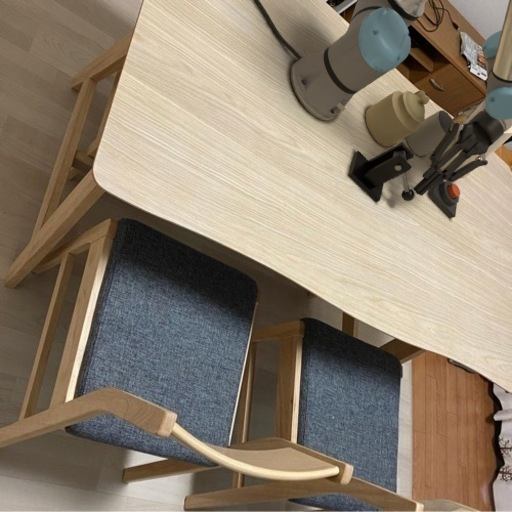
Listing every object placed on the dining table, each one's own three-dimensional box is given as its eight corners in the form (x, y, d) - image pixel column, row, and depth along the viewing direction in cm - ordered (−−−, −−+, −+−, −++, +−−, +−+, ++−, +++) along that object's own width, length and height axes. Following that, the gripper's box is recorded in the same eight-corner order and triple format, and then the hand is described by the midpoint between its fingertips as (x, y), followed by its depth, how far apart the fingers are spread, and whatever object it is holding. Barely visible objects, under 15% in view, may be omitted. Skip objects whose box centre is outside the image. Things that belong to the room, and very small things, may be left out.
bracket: (381, 179, 138) (422, 158, 130) (376, 202, 134) (418, 182, 125) (354, 152, 134) (395, 129, 126) (348, 175, 130) (389, 152, 121)
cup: (425, 161, 155) (457, 145, 148) (405, 145, 151) (438, 128, 144) (425, 138, 160) (456, 121, 152) (406, 122, 156) (438, 104, 148)
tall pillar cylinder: (429, 164, 159) (473, 115, 136) (447, 137, 163) (493, 86, 139) (461, 186, 158) (511, 141, 135) (479, 159, 162) (530, 111, 138)
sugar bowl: (366, 88, 147) (415, 56, 137) (394, 112, 153) (442, 82, 142) (363, 131, 140) (414, 101, 129) (392, 154, 145) (443, 127, 135)
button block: (427, 196, 150) (439, 190, 148) (431, 175, 155) (442, 170, 153) (450, 218, 154) (461, 214, 152) (452, 198, 159) (463, 193, 156)
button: (446, 193, 151) (451, 190, 149) (447, 183, 153) (453, 181, 152) (454, 201, 152) (459, 199, 151) (455, 192, 154) (460, 189, 153)
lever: (403, 195, 137) (416, 194, 136) (401, 204, 135) (414, 203, 134) (393, 150, 128) (406, 149, 126) (391, 159, 126) (404, 158, 125)
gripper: (499, 142, 137) (427, 210, 139) (468, 99, 134) (393, 169, 135) (518, 143, 130) (441, 215, 131) (485, 98, 127) (406, 172, 128)
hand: (417, 192), depth 133 cm, fingers closed
